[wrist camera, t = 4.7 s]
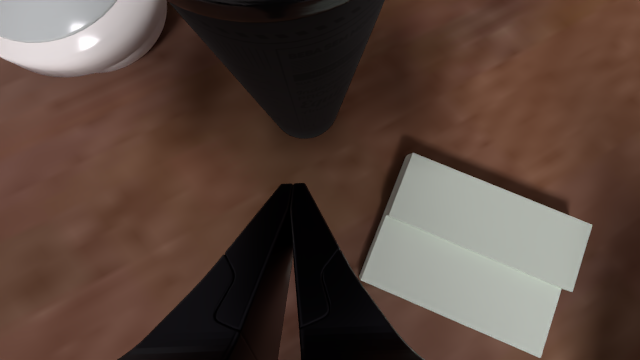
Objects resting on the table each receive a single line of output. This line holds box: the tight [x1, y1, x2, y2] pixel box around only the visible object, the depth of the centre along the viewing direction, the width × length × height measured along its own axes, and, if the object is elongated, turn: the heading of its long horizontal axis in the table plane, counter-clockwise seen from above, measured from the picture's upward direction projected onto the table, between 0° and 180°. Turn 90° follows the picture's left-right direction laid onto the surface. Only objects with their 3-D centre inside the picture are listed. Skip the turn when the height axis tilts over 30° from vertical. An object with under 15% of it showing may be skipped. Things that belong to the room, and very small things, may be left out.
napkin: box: [359, 153, 592, 358], centre depth 17 cm, size 12×9×2 cm
